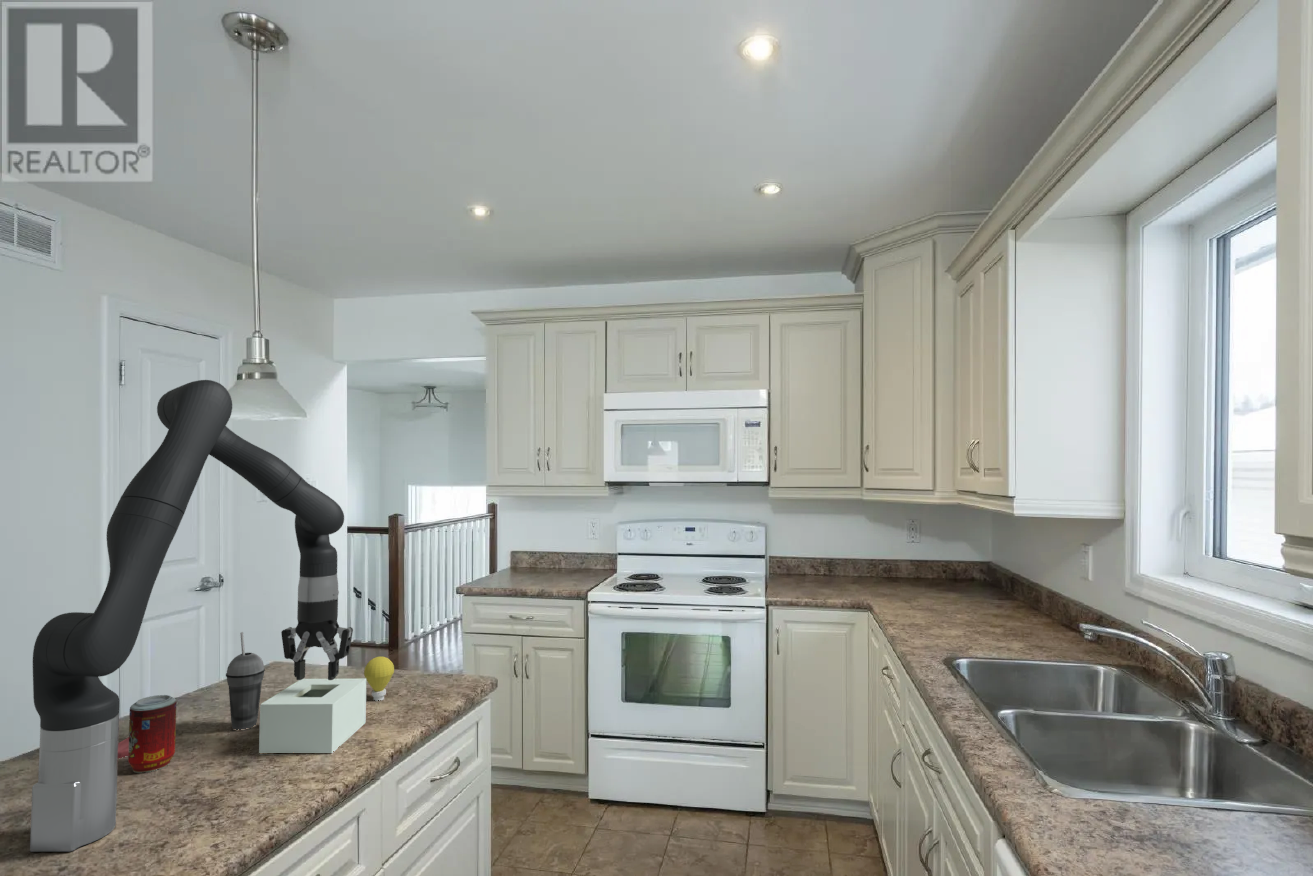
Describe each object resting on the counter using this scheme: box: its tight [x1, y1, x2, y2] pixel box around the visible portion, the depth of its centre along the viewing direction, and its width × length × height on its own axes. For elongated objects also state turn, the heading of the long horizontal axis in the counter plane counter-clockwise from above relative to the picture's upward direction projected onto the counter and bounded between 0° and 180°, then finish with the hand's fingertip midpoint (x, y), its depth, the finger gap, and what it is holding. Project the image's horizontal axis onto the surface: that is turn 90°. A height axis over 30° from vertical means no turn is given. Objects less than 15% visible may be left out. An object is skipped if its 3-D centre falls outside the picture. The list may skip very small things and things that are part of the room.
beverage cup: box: [225, 631, 266, 730], centre depth 147 cm, size 7×7×20 cm
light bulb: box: [363, 656, 395, 702], centre depth 164 cm, size 7×7×10 cm
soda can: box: [127, 694, 177, 774], centre depth 127 cm, size 7×7×12 cm
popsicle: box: [118, 736, 129, 759], centre depth 138 cm, size 5×2×15 cm
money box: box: [258, 677, 367, 754], centre depth 141 cm, size 16×14×10 cm
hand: (316, 678), depth 141 cm, fingers open, 6 cm apart
